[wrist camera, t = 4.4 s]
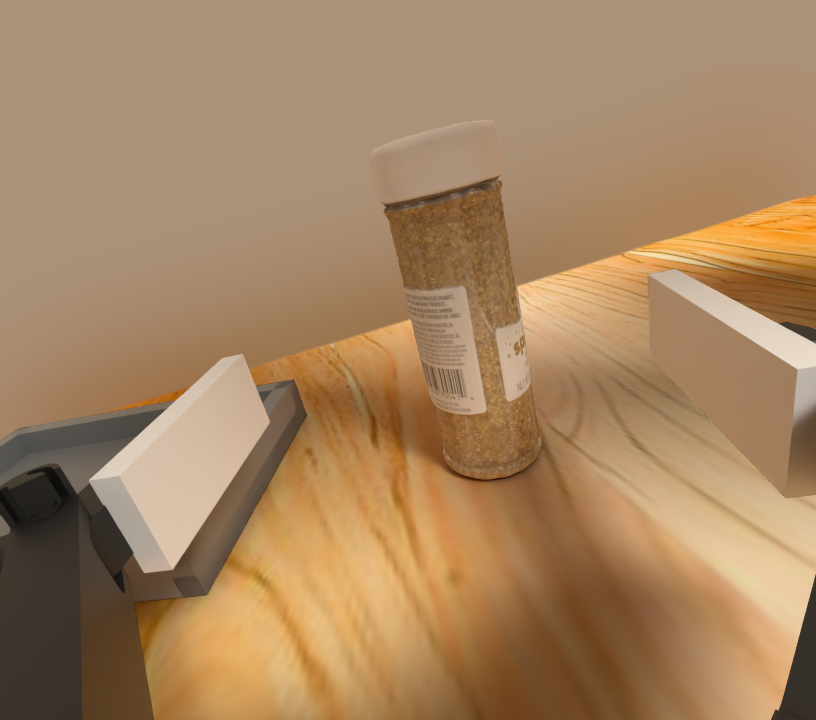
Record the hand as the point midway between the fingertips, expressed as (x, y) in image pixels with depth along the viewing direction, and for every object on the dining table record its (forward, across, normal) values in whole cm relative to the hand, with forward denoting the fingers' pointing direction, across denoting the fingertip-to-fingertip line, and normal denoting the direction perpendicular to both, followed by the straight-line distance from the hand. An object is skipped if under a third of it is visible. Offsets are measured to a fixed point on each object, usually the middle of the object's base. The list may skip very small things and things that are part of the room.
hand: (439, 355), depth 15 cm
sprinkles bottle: (+4, +1, -7) cm, 8 cm away
